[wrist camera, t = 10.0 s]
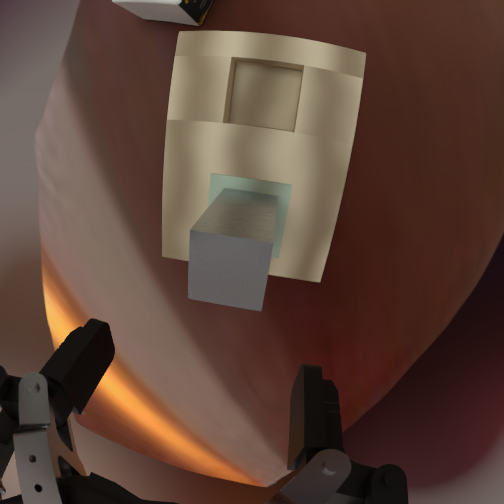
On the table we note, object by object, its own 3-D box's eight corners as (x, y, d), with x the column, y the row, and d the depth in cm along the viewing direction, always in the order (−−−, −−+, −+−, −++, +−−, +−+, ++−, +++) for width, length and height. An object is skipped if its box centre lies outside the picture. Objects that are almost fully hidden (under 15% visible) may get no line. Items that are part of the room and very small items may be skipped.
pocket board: (355, 61, 22) (366, 52, 18) (316, 263, 31) (320, 283, 28) (192, 41, 22) (178, 31, 18) (175, 240, 32) (161, 257, 28)
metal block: (277, 195, 24) (273, 243, 15) (269, 244, 26) (261, 311, 17) (224, 187, 24) (189, 229, 15) (219, 236, 26) (188, 298, 18)
